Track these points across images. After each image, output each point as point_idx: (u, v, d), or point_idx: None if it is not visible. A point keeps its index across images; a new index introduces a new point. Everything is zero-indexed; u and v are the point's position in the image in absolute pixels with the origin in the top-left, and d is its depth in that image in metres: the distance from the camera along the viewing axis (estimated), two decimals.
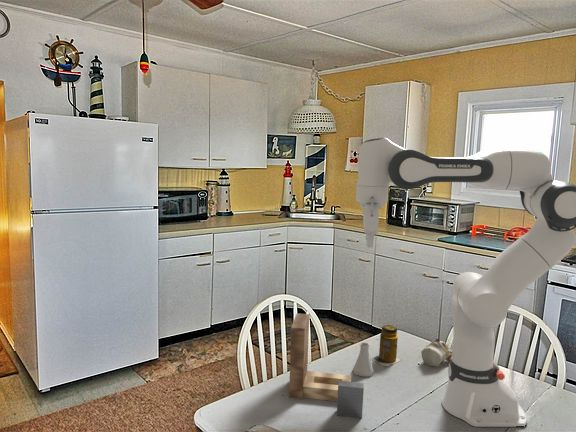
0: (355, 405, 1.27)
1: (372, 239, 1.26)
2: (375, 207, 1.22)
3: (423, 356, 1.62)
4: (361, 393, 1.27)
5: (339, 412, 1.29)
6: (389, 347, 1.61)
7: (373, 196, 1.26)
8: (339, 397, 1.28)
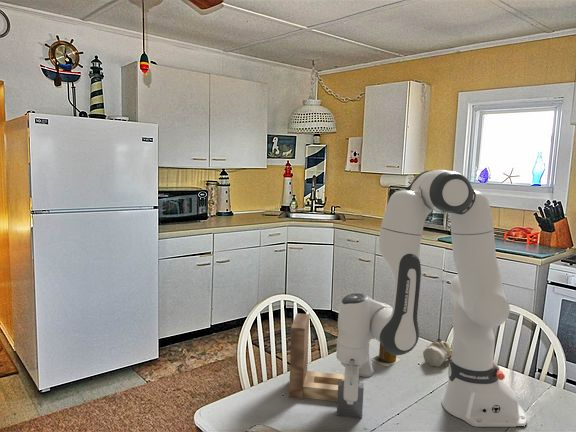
0: (355, 405, 1.27)
1: None
2: (354, 375, 1.19)
3: (425, 356, 1.62)
4: (361, 393, 1.27)
5: (339, 412, 1.29)
6: None
7: (353, 358, 1.23)
8: (339, 397, 1.28)
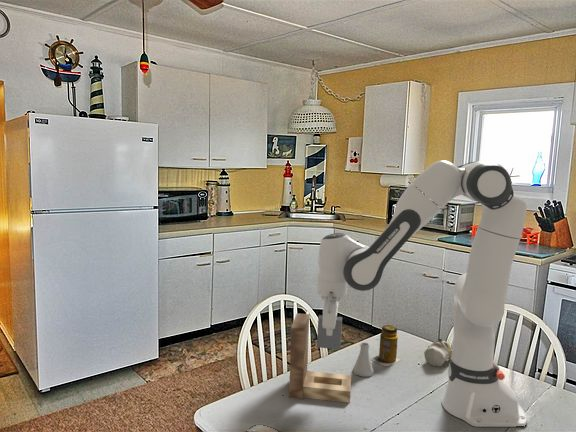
0: (334, 336, 1.37)
1: (331, 328, 1.35)
2: (332, 304, 1.28)
3: (426, 356, 1.62)
4: (339, 325, 1.36)
5: (319, 343, 1.38)
6: (389, 347, 1.61)
7: (332, 291, 1.32)
8: (319, 329, 1.37)
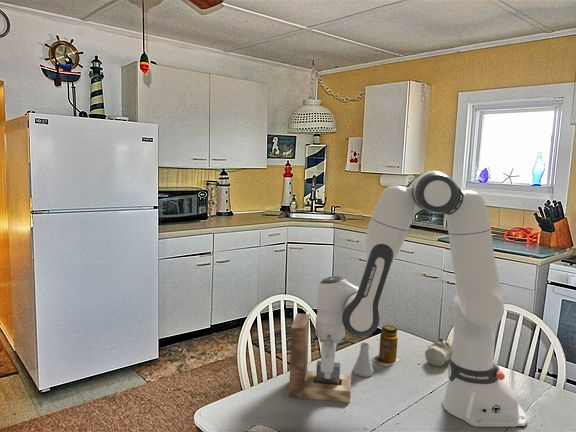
0: (332, 382, 1.39)
1: None
2: (330, 349, 1.30)
3: (427, 356, 1.62)
4: (337, 372, 1.39)
5: None
6: (389, 347, 1.61)
7: (330, 334, 1.34)
8: (318, 375, 1.40)
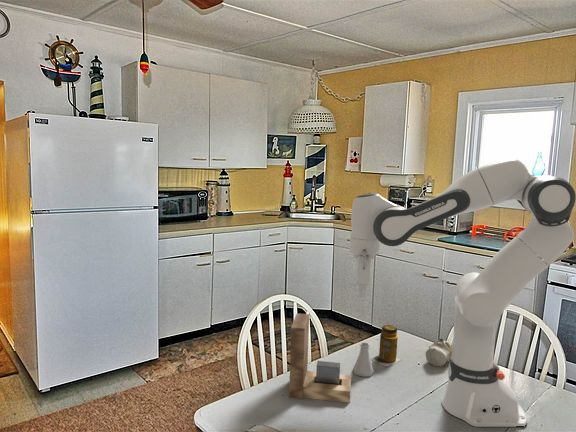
0: (332, 382, 1.39)
1: (364, 289, 1.34)
2: (367, 260, 1.30)
3: (427, 356, 1.62)
4: (337, 372, 1.39)
5: None
6: (389, 347, 1.61)
7: (365, 249, 1.34)
8: (317, 375, 1.40)
